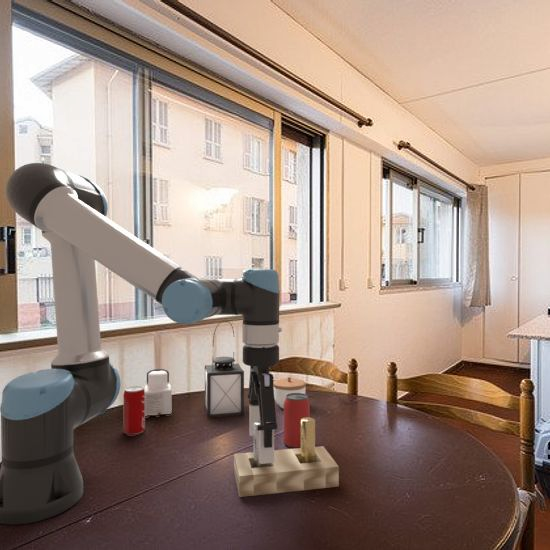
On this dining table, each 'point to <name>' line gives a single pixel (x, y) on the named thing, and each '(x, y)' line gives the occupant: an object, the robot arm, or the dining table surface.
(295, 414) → the beer can
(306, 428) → the brass pin
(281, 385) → the lidded jar
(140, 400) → the soda can
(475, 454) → the dining table surface
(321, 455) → the pin block
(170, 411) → the container
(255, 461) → the steel pin
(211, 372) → the lantern
